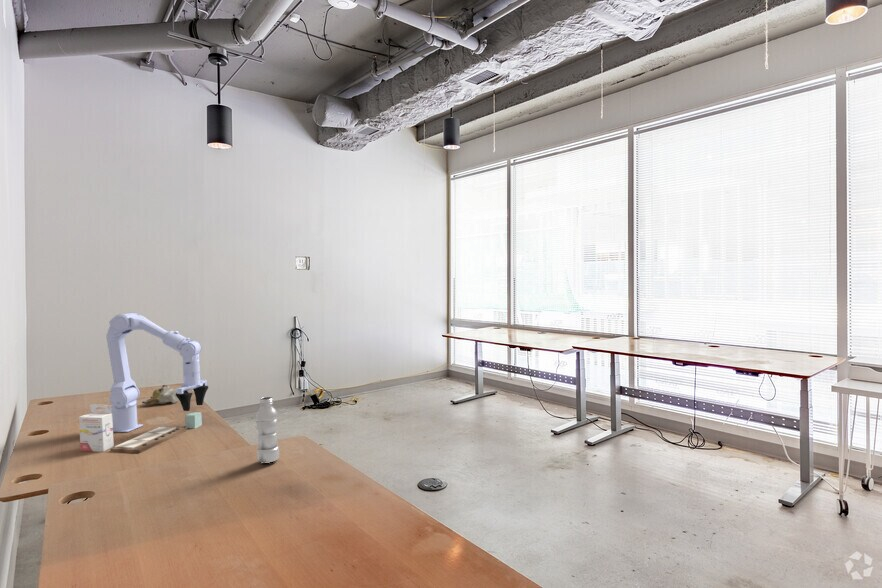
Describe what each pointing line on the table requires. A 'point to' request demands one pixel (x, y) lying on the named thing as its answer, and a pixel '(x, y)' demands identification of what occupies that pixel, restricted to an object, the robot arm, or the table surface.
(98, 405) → the ink cartridge box
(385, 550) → the table surface
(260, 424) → the plastic bottle
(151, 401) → the ceramic sculpture
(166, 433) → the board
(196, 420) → the sage block
